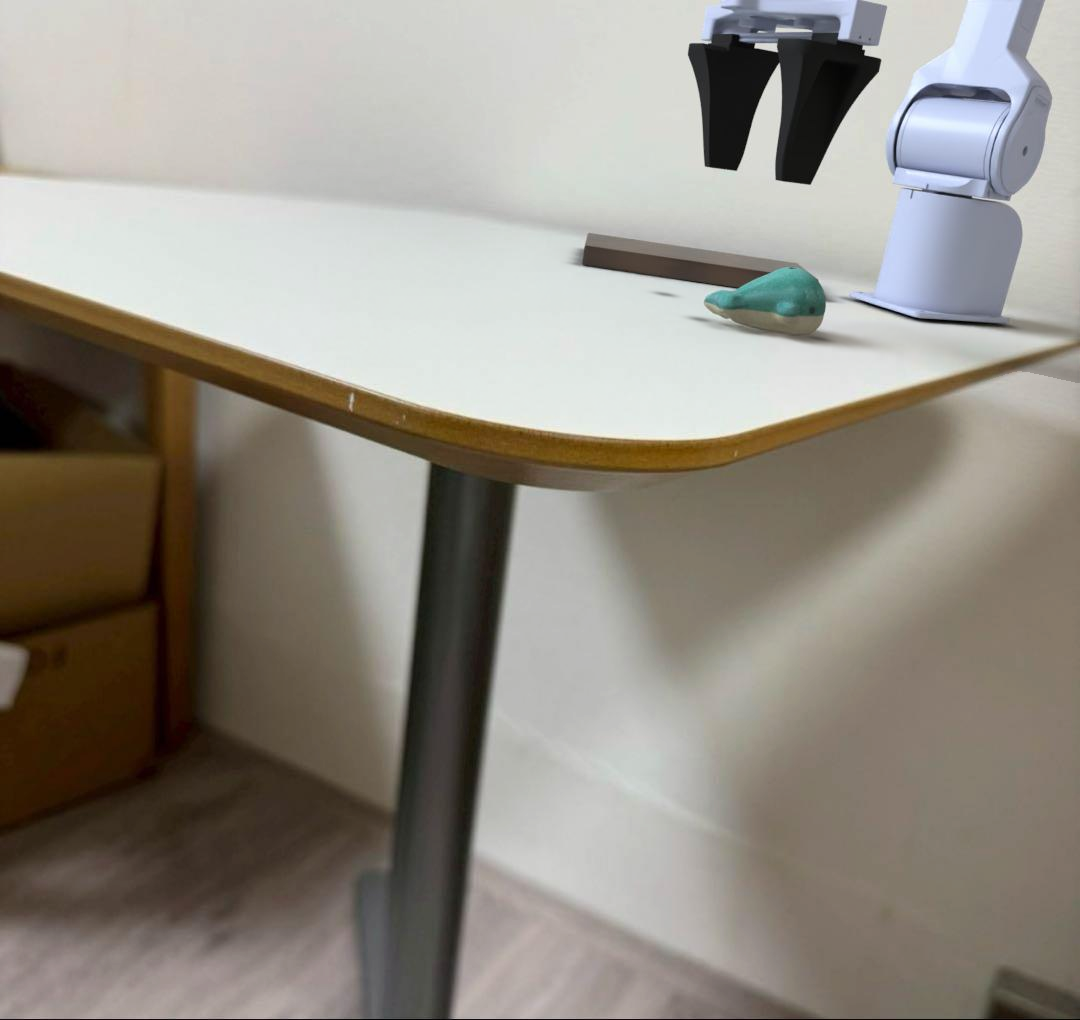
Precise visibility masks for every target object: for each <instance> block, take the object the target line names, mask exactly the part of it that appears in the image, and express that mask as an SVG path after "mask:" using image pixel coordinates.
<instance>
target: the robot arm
mask: <svg viewBox="0 0 1080 1020" xmlns="http://www.w3.org/2000/svg"><path fill="white" fill-rule="evenodd" d="M1045 1H1046V0H967V3H966V5H965V9H964V11H963V15H962V19H961V21H960V25H959V27H958V31H957V33H956V37H955V41H954V42H953V43H954V44H953V45H952V46H951V47H949V48H948V49H947V50H946V51H944V52H943V53H941V54H938V55H937V57H935V58H933V59H932V60H930V61H928V62H926V63H925V64H924V65H923V66H921V67H920V68H918V69H917V70H916V71H914V73H913V75H912V78H911V82H910V84H909V87H908V89H907V92H906V94H905V96H904V98H903V100H902V101H901V103H900V105H899V107H898V108H897V109H896V111H895V112H894V114H893V115H892V118H891V120H890V123H889V125H888V129H887V133H886V137H885V146H884V149H885V150H884V151H885V153H884V154H885V159H886V163H887V167H888V169H889V171H890V173H891V175H892V176H893V179H892V184H893V185H898V186H904V187H900V188H899V191H898V195H897V199H896V203H895V208H894V211H893V212H894V213H893V216H892V219H891V220H892V221H891V223H890V224H891V225H890V228H889V233H888V237H887V241H886V245H885V249H884V252H883V257H882V261H881V265H880V268H879V273H878V277H877V282H876V285H875V290H874V292H869V291H855V290H851V291H849V295H848V296H849V297H850V298H853V299H855V300H858V301H863V302H866V303H869V304H871V305H874V306H877V307H881V308H885V309H887V310H891V311H894V312H897V313H900V314H903V315H906V316H910V317H912V318H918V319H929V320H943V321H959V322H960V321H961V322H974V323H989V324H1003V325H1004V324H1005V325H1006V324H1009V320H1010V318H1009V317H1007V316H1003V315H1002V313H1003V311H1004V306H1005V303H1006V299H1007V297H1008V293H1009V290H1010V289H1009V288H1010V285H1011V282H1012V279H1013V275H1014V272H1015V269H1016V265H1017V261H1018V258H1019V254H1020V251H1021V247H1022V243H1023V233H1024V232H1023V225H1022V220H1021V217H1020V215H1019V213H1018V212H1017V211H1016V210H1015V209H1014V208H1013V207H1012V206H1010V205H1009V204H1007V203H1004V202H1010V201H1011V199H1012V196H1013V195H1015V194H1018V192H1019V191H1021V189H1022V188H1024V187H1025V186H1026V185H1027V184H1028V183H1029V181H1030V180H1031V179H1032V177H1033V176H1034V174H1035V172H1036V171H1037V168H1038V167H1039V164H1040V161H1041V159H1042V155H1043V151H1044V147H1045V142H1046V128H1047V123H1048V118H1049V115H1050V111H1051V108H1052V103H1053V94H1052V92H1051V90H1050V87H1049V85H1048V83H1047V82H1046V81H1045V79H1044V78H1043V77H1042V76H1041V74H1040V73H1039V72H1038V71H1037V70H1036V69H1035V68H1034V66H1033V65H1032V64H1031V63H1030V62H1029V60H1028V58H1027V55H1028V52H1029V49H1030V46H1031V43H1032V40H1033V37H1034V34H1035V31H1036V28H1037V25H1038V23H1039V20H1040V17H1041V13H1042V11H1043V8H1044V4H1045ZM887 11H888V6H887V5H885V4H882V3H877V2H872V1H868V0H720V4H718V5H713V6H706V8H705V14H704V19H703V26H702V32H701V35H700V40H701V41H704V42H708V43H704V42H691V43H689V44H688V49H687V57H688V59H689V62H690V65H691V67H692V70H693V74H694V78H695V82H696V86H697V90H698V97H699V103H700V111H701V123H702V146H703V163H704V167H705V168H711V169H718V170H725V171H726V170H727V171H732V172H733V171H734V172H737V171H738V169H739V167H740V165H741V163H742V160H743V157H744V154H745V151H746V148H747V144H748V140H749V136H750V132H751V129H752V125H753V122H754V118H755V115H756V112H757V109H758V106H759V104H760V101H761V99H762V96H763V95H764V92H765V90H766V88H767V86H768V84H769V82H770V79H771V78H772V76H773V74H774V73H775V71H776V69H777V67H778V66H779V69H780V80H781V110H780V111H781V112H780V123H779V129H778V138H777V144H776V150H775V151H776V152H775V159H774V160H775V161H774V173H775V174H774V175H775V177H774V178H775V181H778V182H783V183H784V182H785V183H790V184H791V183H792V184H799V185H807V186H811V185H812V183H813V181H814V179H815V177H816V175H817V173H818V171H819V169H820V167H821V164H822V162H823V160H824V158H825V156H826V154H827V151H828V149H829V148H830V145H831V143H832V141H833V139H834V137H835V135H836V133H837V131H838V130H839V128H840V126H841V124H842V122H843V121H844V119H845V118H846V115H847V114H848V113H849V111H850V109H851V108H852V106H853V105H854V103H855V102H856V100H857V99H858V98H859V96H860V95H861V94H862V93H863V91H864V90H865V89H866V88H867V86H868V85H869V84H870V82H872V80H874V78H875V77H876V76H877V75H878V74H879V73H880V68H881V65H882V59H881V58H880V57H875V56H870V55H866V54H865V53H866V49H864V46H865V47H878V46H879V45H880V40H881V36H882V31H883V28H884V22H885V20H886V19H885V18H886V15H887ZM777 29H793V30H807V31H776V30H777ZM808 30H809V31H808ZM756 44H776V49H777V51H774V50H769V49H763V48H758V47H756ZM1002 201H1004V202H1002Z"/></svg>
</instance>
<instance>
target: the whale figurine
mask: <svg viewBox="0 0 1080 1020" xmlns="http://www.w3.org/2000/svg"><path fill="white" fill-rule="evenodd" d="M805 270H806V269H805ZM805 270H803V269H800V268H795V267H785V268H781V269H778V270H776V271H773V272H771V273H769V274H767V275H764V276H762V277H759V278H757V279H755V280H753V281H751V282H749V283H747V284H745V285H743V286H741V287H740V288H736V289H735V290H726V289H721V290H720V289H719V290H716V291H714V292H711V293H710V294H708V295H706V296H705V298H704V300H703V305H704V307H705V308H706V309H708V311H710V312H711V313H712V314H714V315H717V316H719V317H721V318H722V319H725V320H729V319H730V320H731V321H732V322H734V323H736V324H739V325H742V326H746V327H750V328H754V329H757V330H762V331H767V332H773V333H779V334H785V335H792V336H793V335H794V336H803V335H808V334H812V333H813V332H815V331H816V330H818V329H819V328H820V326H821V325H822V323H823V320H824V317H825V313H826V308H827V300H826V295H825V290H824V288H823V286H822V284H821V283H820V281H818V280H819V279H818V278H817V277H816V276H815V275H813V274H812V273H810V272H809V271H808V270H807V271H808V272H807V271H805ZM815 277H816V278H817V279H818V280H817V279H816V278H815Z"/></svg>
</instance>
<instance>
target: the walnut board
mask: <svg viewBox="0 0 1080 1020" xmlns="http://www.w3.org/2000/svg"><path fill="white" fill-rule="evenodd" d="M582 253H583V254H582V262H581V265H582V266H588V267H594V268H601V269H608V270H614V271H620V272H627V273H635V274H641V275H646V276H647V275H649V276H655V277H661V278H667V279H676V280H681V281H689V282H695V283H703V284H710V285H717V286H722V287H731V288H736V289H738V288H740V287H741V286H743V285H745V284H747V283H749V282H751V281H753V280H755V279H757V278H759V277H762V276H764V275H767V274H769V273H771V272H773V271H776V270H778V269H781V268H785V267H795V268H800V269H803V270H805V271H807V272H809V271H808V270H807V269H805V267H804V266H802V265H800V264H799V263H798V262H792V261H785V260H779V259H771V258H765V257H758V256H751V255H744V254H739V253H738V254H737V253H730V252H723V251H716V250H711V249H702V248H697V247H689V246H682V245H675V244H670V243H664V242H663V243H661V242H655V241H649V240H641V239H634V238H627V237H621V236H613V235H607V234H601V233H593V232H588V233H587V234H586V239H585V243H584V248H583V252H582ZM814 277H815V278H816V279H817V280H818V281H819V279H818V278H817V277H816V276H814ZM819 282H820V281H819Z"/></svg>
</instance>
